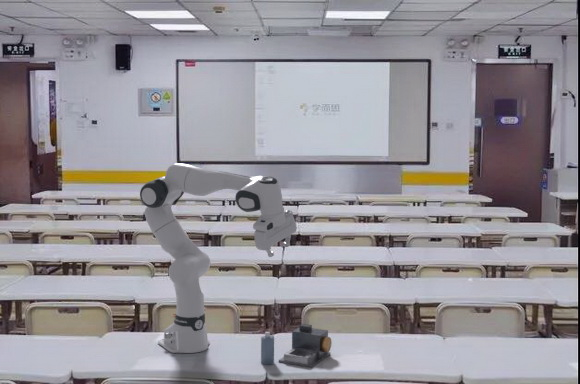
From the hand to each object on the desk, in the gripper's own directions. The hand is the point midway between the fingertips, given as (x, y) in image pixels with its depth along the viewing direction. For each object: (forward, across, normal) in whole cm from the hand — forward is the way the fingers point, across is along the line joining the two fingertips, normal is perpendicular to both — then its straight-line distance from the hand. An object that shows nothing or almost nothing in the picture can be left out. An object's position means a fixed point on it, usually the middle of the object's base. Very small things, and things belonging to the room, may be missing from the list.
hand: (279, 251), depth 287 cm
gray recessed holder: (+43, +4, +9) cm, 44 cm away
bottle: (+40, +18, +1) cm, 43 cm away
